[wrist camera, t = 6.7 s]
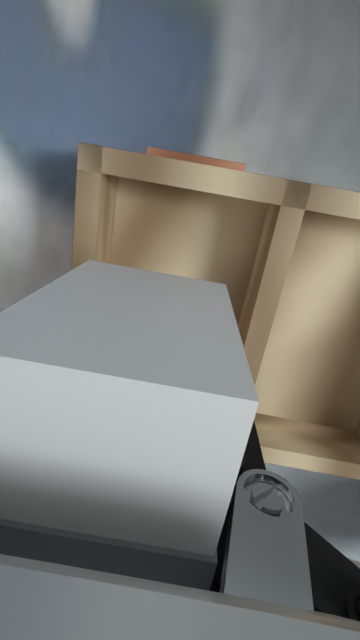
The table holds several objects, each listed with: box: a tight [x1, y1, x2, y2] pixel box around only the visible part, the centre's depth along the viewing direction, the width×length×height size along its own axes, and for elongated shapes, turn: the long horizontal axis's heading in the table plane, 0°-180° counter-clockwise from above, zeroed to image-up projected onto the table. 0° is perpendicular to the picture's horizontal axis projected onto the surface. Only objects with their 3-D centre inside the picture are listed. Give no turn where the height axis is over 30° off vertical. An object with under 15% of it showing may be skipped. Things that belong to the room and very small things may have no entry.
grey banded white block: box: [0, 260, 259, 591], centre depth 8 cm, size 4×8×6 cm, turn 170°
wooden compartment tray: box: [71, 142, 360, 480], centre depth 18 cm, size 18×15×4 cm
